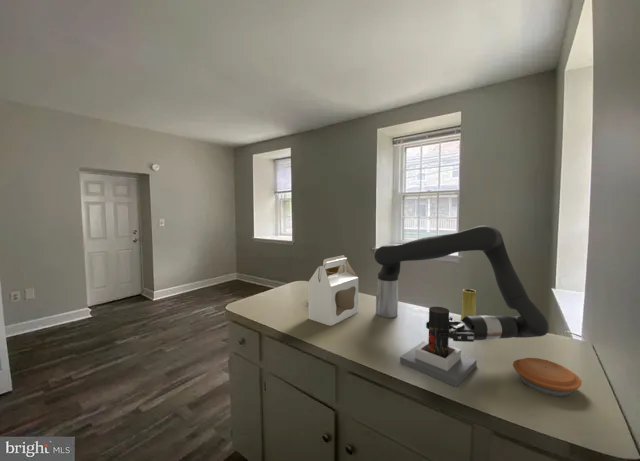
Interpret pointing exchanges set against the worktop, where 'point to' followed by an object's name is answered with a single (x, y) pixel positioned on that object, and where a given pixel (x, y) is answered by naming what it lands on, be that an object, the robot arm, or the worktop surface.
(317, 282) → the gable box
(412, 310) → the worktop surface
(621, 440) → the worktop surface
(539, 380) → the pie
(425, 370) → the grey white socket base
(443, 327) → the deodorant
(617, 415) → the worktop surface
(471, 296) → the vase
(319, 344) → the worktop surface
